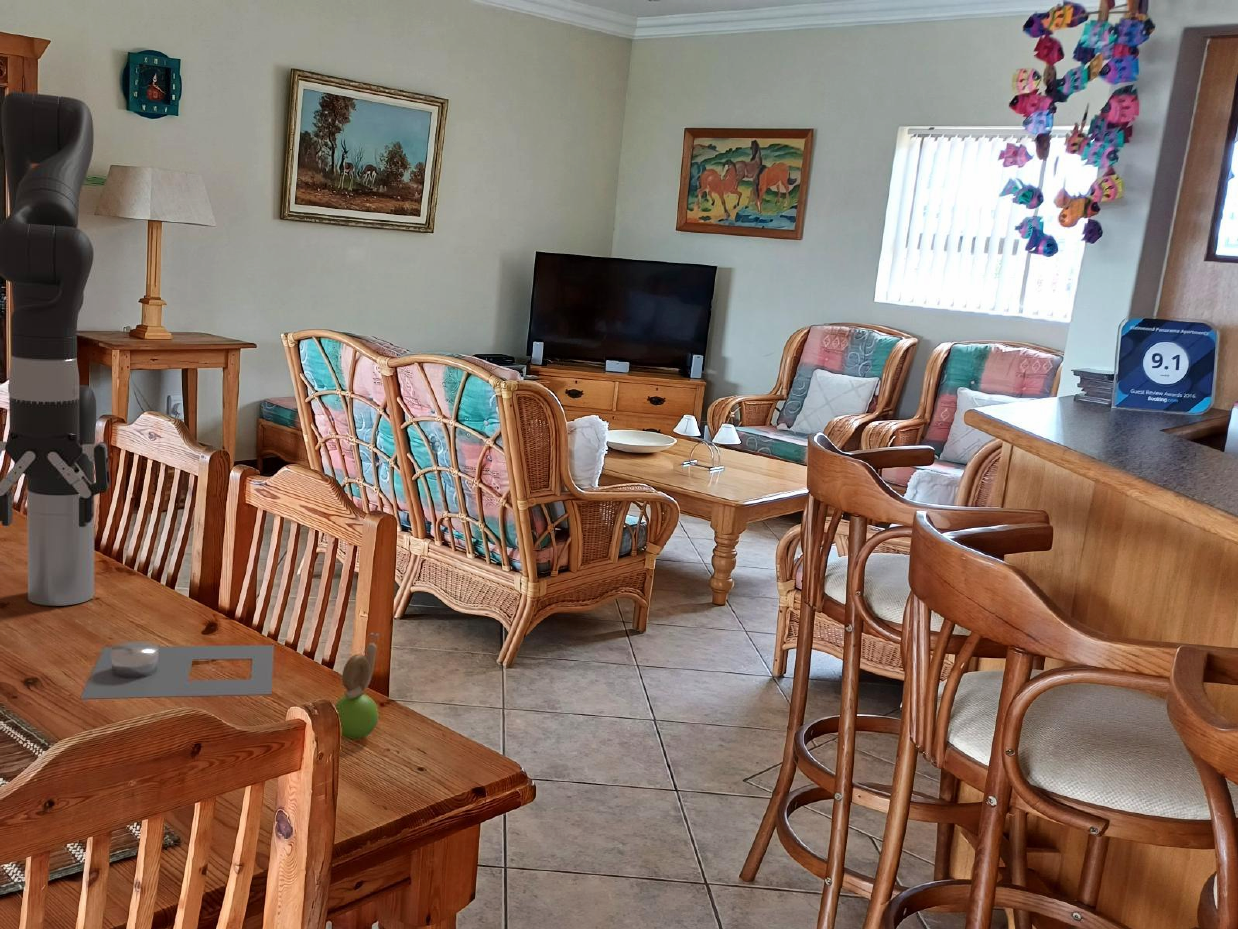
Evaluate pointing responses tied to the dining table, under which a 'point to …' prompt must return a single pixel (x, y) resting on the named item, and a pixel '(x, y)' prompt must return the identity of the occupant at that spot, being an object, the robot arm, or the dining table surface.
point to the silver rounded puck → (134, 659)
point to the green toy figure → (358, 695)
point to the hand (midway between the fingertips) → (45, 525)
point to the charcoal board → (183, 674)
